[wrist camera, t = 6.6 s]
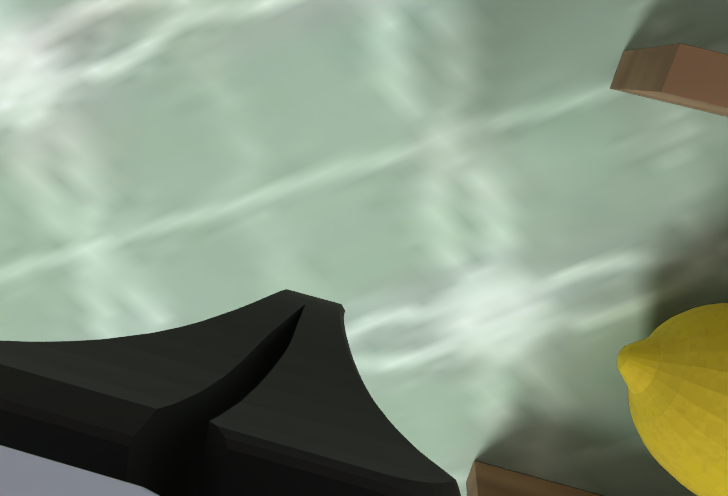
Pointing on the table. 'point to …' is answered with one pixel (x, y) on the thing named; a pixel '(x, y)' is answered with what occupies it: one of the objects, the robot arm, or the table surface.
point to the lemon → (683, 396)
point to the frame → (657, 81)
